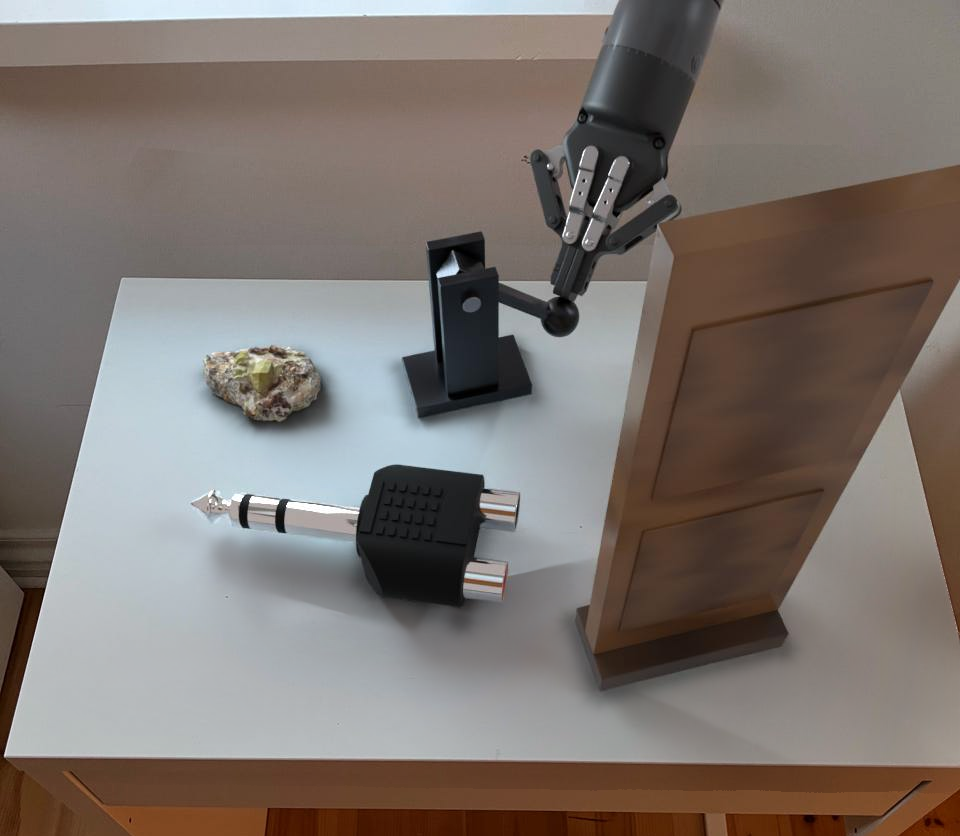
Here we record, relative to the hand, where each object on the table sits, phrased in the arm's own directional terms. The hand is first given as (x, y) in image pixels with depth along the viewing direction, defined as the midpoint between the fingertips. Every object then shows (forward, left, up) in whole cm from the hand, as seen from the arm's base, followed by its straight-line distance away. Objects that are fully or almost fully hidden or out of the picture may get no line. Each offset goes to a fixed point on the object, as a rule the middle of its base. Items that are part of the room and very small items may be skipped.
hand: (563, 297), depth 75 cm
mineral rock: (+25, -4, -7) cm, 27 cm away
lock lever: (+5, 0, 0) cm, 5 cm away
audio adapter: (+21, +14, -7) cm, 26 cm away
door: (-1, +28, -7) cm, 29 cm away
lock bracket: (+8, 0, -7) cm, 11 cm away
